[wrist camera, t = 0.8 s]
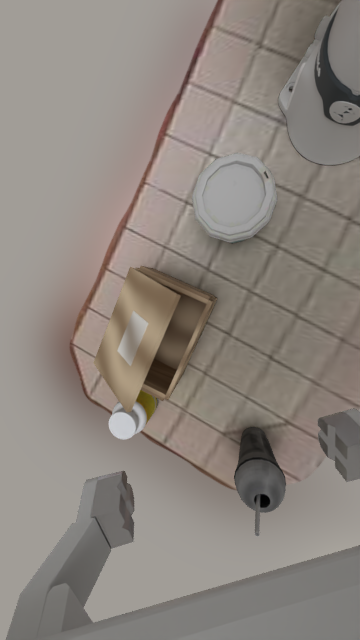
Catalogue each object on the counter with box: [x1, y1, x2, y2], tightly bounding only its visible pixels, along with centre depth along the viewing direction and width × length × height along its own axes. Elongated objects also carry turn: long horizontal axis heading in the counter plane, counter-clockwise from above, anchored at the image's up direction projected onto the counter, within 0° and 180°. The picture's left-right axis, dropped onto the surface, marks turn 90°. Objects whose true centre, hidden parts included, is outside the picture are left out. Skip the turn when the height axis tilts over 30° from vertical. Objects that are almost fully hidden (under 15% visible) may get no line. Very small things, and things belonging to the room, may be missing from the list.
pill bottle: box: [109, 390, 158, 439], centre depth 50 cm, size 6×6×11 cm
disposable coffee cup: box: [192, 153, 277, 243], centre depth 41 cm, size 11×11×15 cm
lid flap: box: [94, 267, 180, 412], centre depth 37 cm, size 16×12×1 cm
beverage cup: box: [234, 427, 286, 536], centre depth 42 cm, size 7×7×20 cm
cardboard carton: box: [135, 266, 217, 401], centre depth 46 cm, size 17×12×12 cm
